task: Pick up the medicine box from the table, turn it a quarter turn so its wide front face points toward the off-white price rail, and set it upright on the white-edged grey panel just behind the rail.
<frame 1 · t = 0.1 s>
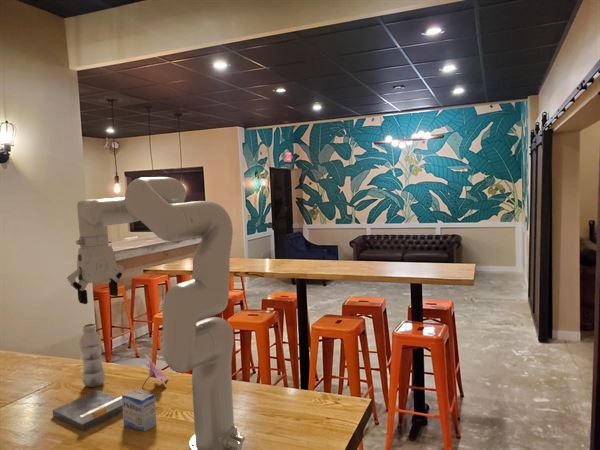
hand: (99, 299, 137), 31 cm above the table, tool pointing down, fingers open, 9 cm apart
lily: (155, 386, 149), on the table
white-edged grey panel: (91, 412, 133), on the table
plastic bottle: (94, 385, 151), on the table
medicine box: (140, 425, 125), on the table
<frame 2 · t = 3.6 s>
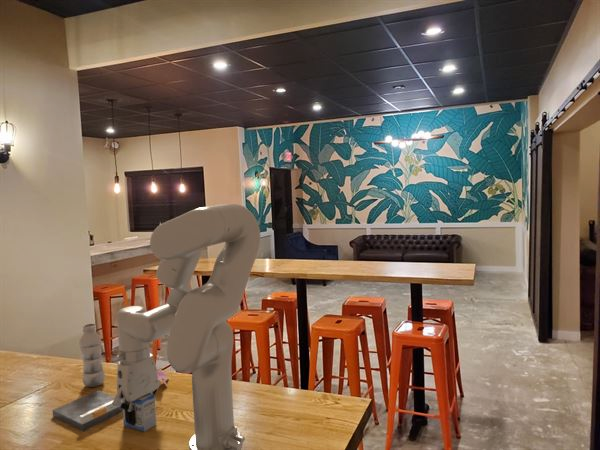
hand: (139, 418, 125), 2 cm above the table, tool pointing down, fingers closed on medicine box, 4 cm apart
medicine box: (140, 425, 125), on the table, touching gripper
everything else where it was.
when the fingers open (5 cm above the table, at t = 9.0 s): medicine box stays where it is, resting on white-edged grey panel.
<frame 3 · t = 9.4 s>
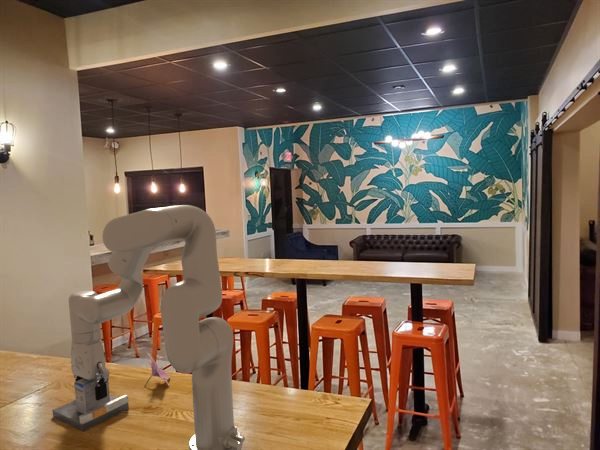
hand: (91, 394, 131), 6 cm above the table, tool pointing down, fingers open, 9 cm apart
medicine box: (93, 407, 132), point 2 cm above the table, touching white-edged grey panel
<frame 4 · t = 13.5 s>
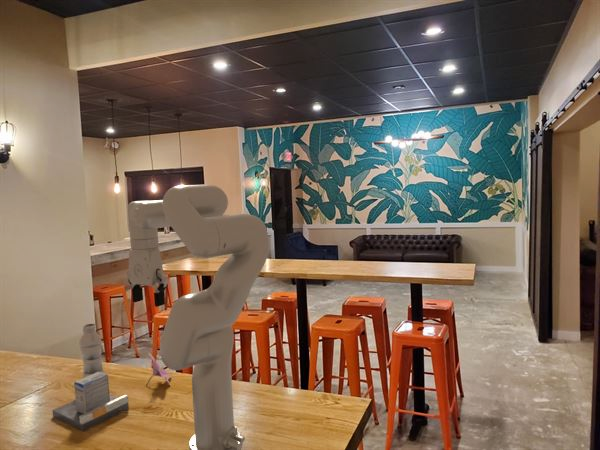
hand: (148, 303, 133), 30 cm above the table, tool pointing down, fingers open, 9 cm apart
at the end: medicine box inside the target area on the white-edged grey panel (0.1 cm from its centre), point 1.8 cm above the white-edged grey panel's base; medicine box tilted 0°; the gripper is holding nothing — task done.
